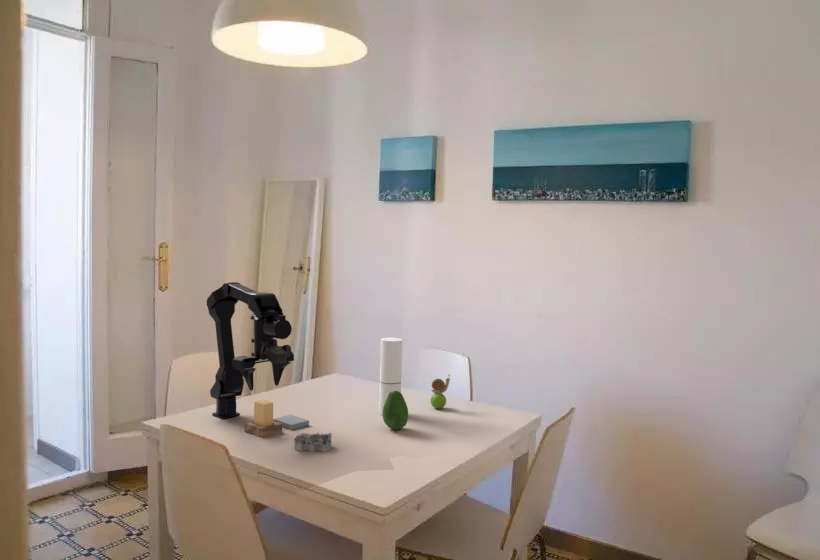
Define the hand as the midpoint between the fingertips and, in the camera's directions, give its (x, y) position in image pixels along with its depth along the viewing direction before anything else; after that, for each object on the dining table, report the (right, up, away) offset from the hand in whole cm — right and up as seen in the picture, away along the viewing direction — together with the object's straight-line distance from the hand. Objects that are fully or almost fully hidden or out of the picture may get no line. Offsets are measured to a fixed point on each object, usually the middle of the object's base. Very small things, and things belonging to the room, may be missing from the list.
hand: (264, 387), depth 199 cm
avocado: (+39, -14, +7) cm, 42 cm away
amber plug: (0, -13, +1) cm, 13 cm away
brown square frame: (0, -13, +1) cm, 13 cm away
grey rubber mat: (+6, -13, +9) cm, 17 cm away
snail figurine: (+54, -13, +32) cm, 64 cm away
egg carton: (+16, -15, -12) cm, 25 cm away
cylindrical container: (+37, -13, +25) cm, 46 cm away
